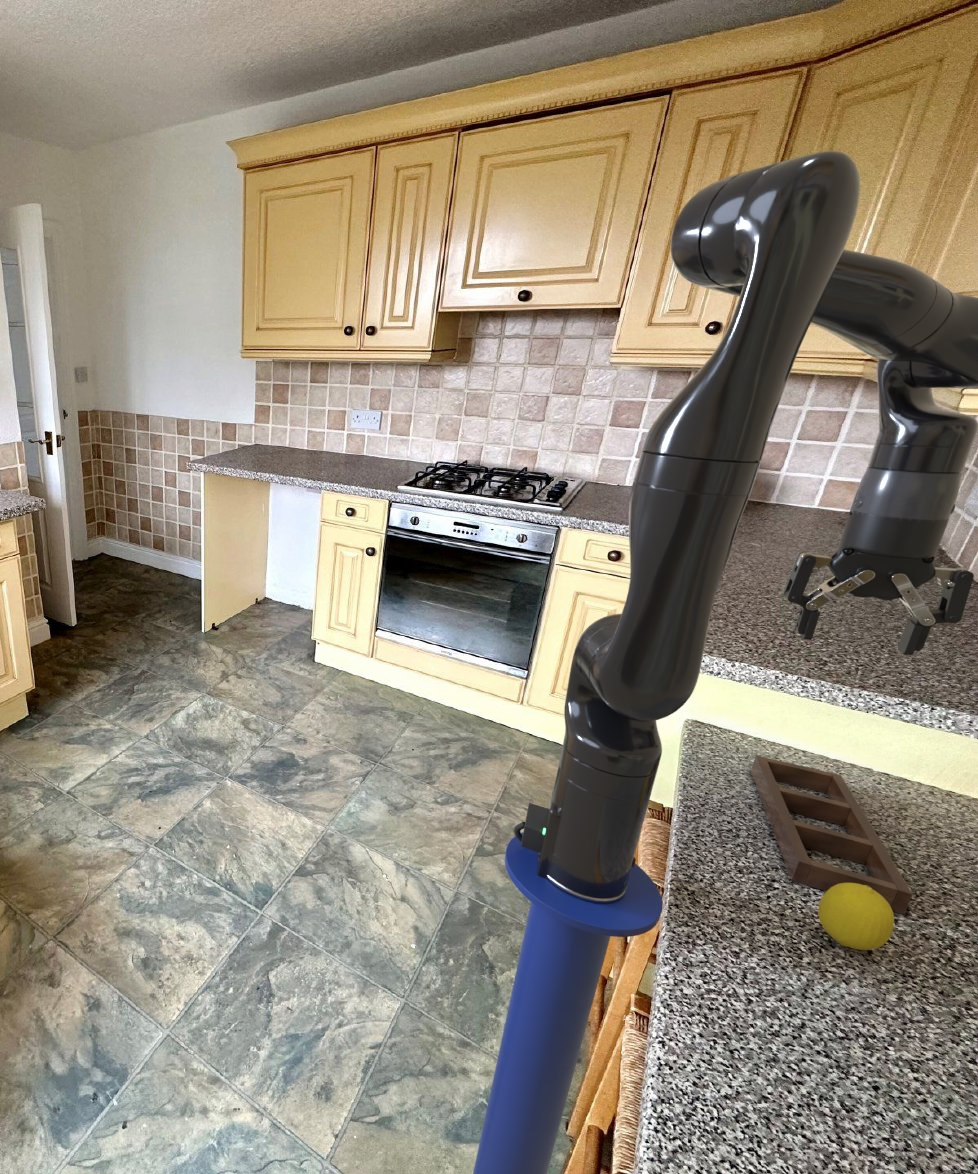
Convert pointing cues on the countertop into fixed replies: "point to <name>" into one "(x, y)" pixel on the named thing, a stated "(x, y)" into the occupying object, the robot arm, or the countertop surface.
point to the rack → (825, 831)
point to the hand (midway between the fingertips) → (853, 644)
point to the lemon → (856, 916)
